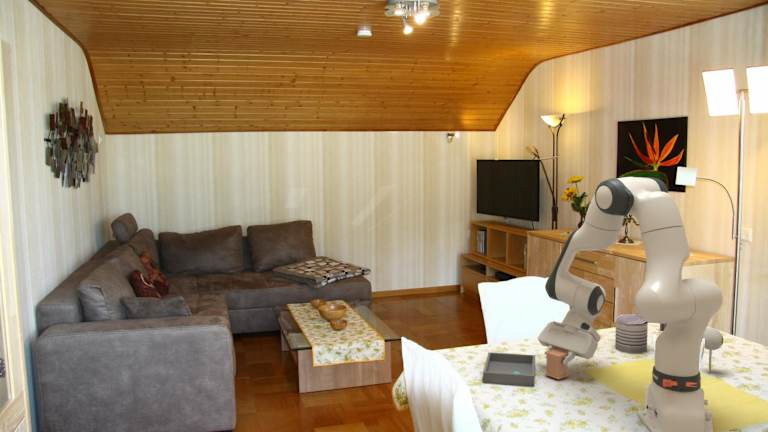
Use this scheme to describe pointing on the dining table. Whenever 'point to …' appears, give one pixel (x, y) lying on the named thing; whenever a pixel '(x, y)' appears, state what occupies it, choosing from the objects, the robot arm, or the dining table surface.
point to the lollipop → (712, 342)
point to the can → (631, 334)
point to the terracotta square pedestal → (556, 363)
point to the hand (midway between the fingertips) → (555, 361)
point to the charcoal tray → (509, 369)
